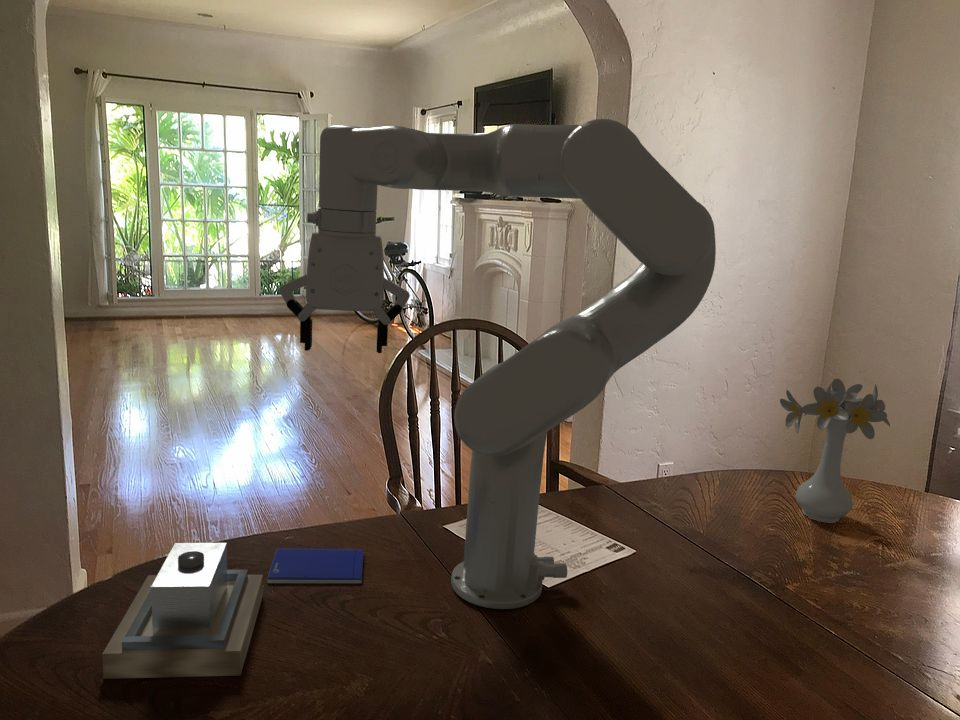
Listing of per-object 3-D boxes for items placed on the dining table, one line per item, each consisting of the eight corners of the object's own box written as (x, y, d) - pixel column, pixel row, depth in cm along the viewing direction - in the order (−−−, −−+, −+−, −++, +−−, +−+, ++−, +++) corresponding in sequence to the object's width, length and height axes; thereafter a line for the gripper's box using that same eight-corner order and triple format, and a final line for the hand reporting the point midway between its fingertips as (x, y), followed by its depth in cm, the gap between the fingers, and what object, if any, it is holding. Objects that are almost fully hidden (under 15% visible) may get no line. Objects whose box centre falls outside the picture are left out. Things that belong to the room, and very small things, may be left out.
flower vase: (752, 504, 136) (773, 373, 130) (837, 501, 140) (862, 374, 135) (796, 536, 124) (822, 393, 118) (889, 532, 128) (918, 393, 122)
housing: (209, 635, 82) (208, 579, 80) (152, 636, 81) (150, 580, 79) (227, 587, 91) (226, 536, 90) (176, 587, 90) (174, 536, 89)
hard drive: (267, 576, 98) (361, 577, 100) (276, 546, 106) (363, 547, 108) (267, 587, 99) (361, 587, 100) (276, 556, 106) (363, 557, 108)
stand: (262, 595, 95) (262, 567, 95) (240, 675, 80) (240, 642, 79) (149, 596, 93) (147, 568, 92) (103, 678, 78) (101, 645, 77)
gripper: (276, 221, 93) (275, 353, 97) (414, 229, 95) (408, 358, 99) (283, 218, 100) (282, 341, 104) (411, 226, 102) (406, 346, 106)
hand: (343, 349), depth 101 cm, fingers open, 9 cm apart
